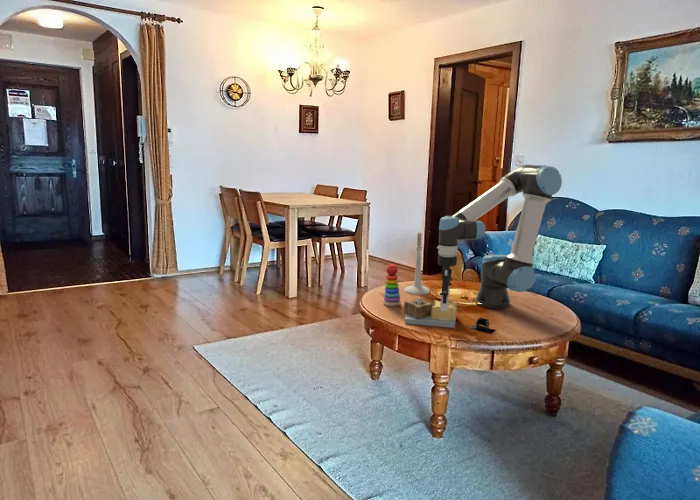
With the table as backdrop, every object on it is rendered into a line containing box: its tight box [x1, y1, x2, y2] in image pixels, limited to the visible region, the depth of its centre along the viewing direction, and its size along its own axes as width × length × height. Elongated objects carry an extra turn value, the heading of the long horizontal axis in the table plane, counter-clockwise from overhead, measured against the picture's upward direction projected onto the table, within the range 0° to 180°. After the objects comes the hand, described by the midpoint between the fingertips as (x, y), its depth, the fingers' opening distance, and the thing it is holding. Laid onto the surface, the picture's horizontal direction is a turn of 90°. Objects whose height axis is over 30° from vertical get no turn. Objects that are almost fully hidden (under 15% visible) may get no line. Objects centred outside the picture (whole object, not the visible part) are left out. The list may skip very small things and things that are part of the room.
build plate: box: [468, 317, 497, 335], centre depth 198 cm, size 12×7×5 cm, turn 52°
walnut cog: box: [403, 298, 435, 319], centre depth 209 cm, size 10×10×5 cm
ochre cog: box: [431, 300, 458, 321], centre depth 206 cm, size 10×10×5 cm
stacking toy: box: [383, 263, 402, 307], centre depth 227 cm, size 8×8×19 cm
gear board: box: [404, 296, 456, 329], centre depth 208 cm, size 20×14×9 cm
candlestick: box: [404, 232, 431, 296], centre depth 248 cm, size 13×13×30 cm
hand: (445, 305), depth 206 cm, fingers open, 13 cm apart
